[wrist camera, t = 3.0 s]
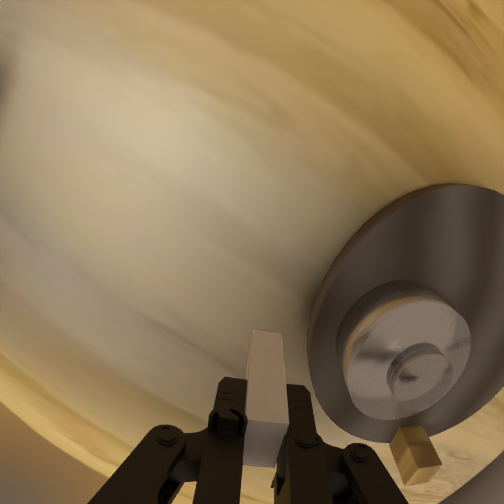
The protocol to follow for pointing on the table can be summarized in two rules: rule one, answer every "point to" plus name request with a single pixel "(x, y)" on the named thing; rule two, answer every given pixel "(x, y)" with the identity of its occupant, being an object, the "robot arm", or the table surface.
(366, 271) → the turntable
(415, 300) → the cover
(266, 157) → the table surface
